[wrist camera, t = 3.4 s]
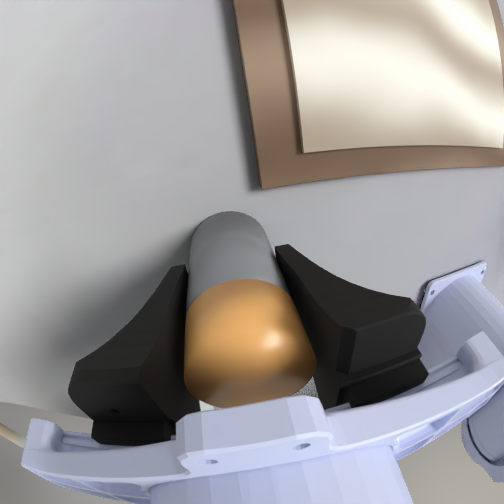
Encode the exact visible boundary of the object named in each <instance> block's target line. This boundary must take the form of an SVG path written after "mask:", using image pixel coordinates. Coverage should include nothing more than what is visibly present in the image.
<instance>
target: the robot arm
mask: <svg viewBox="0 0 504 504" xmlns="http://www.w3.org/2000/svg"><path fill="white" fill-rule="evenodd" d="M275 253H276V260H277V262H278V265H279V267H280V269H281V272H282V274H283V277H284V279H285V282H286V284H287V287H288V289H289V291H290V294H291V296H292V299H293V301H294V304H295V306H296V309H297V311H298V314H299V316H300V319H301V321H302V324H303V326H304V329H305V331H306V334H307V336H308V339H309V341H310V344H311V346H312V349H313V351H314V354H315V357H316V369H315V372H314V374H313V378H314V382H315V385H316V389H317V393H318V396H319V399H318V398H316V397H312V396H307V395H295V396H286V397H281V398H277V399H272V400H267V401H262V402H257V403H252V404H246V405H240V406H234V407H228V408H221V409H213V410H205V411H201V409H200V402H199V400H198V399H197V398H196V397H194V396H193V395H192V394H191V393H190V392H189V391H188V389H187V388H186V385H185V382H184V349H185V321H186V302H187V285H188V273H187V270H186V267H185V264H184V265H179V266H174V267H171V269H170V270H169V272H168V273H167V275H166V276H165V278H164V279H163V280H162V282H161V283H160V285H159V286H158V288H157V289H156V291H155V292H154V294H153V295H152V296H151V297H150V299H149V300H148V301H147V303H146V304H145V305H144V307H143V308H142V309H141V310H140V311H139V312H138V314H137V315H136V316H135V317H134V318H133V319H132V320H131V321H130V322H129V323H128V324H127V325H126V326H125V327H124V328H123V329H122V330H121V331H119V332H118V333H117V334H116V335H115V336H114V337H113V338H111V339H110V340H109V341H108V342H106V343H105V344H104V345H102V346H101V347H100V348H98V349H97V350H95V351H94V352H92V353H91V354H89V355H87V356H86V357H84V358H83V359H81V360H79V361H78V362H76V364H75V367H74V371H73V374H72V377H71V381H70V384H69V388H68V394H69V396H70V398H71V399H72V401H73V402H74V403H75V404H76V405H77V406H78V407H79V408H80V409H81V410H82V411H83V412H84V413H86V414H87V415H88V416H89V417H90V418H91V419H92V420H94V422H93V428H92V434H86V433H77V432H70V431H63V430H62V429H61V428H60V427H59V426H58V425H57V424H55V423H53V422H51V421H48V420H43V419H36V418H31V422H30V425H29V429H28V433H27V438H26V442H25V447H24V451H23V457H22V462H21V465H22V466H23V467H24V468H26V469H28V470H30V471H31V472H33V473H35V474H37V475H39V476H40V477H42V478H44V479H46V480H48V481H50V482H52V483H54V484H56V485H58V486H61V487H65V488H68V489H72V490H75V491H79V492H83V493H87V494H91V495H95V496H99V497H104V498H109V499H114V500H119V501H125V502H130V503H137V504H413V501H412V499H411V496H410V493H409V491H408V488H407V486H406V483H405V481H404V478H403V476H402V473H401V471H400V469H399V466H398V464H397V460H399V459H401V458H403V457H405V456H407V455H409V454H410V453H412V452H414V451H416V450H418V449H420V448H421V447H423V446H425V445H426V444H428V443H430V442H431V441H433V440H434V439H436V438H438V437H439V436H441V435H442V434H444V433H445V432H447V431H448V430H450V429H451V428H453V427H454V426H456V425H457V424H459V423H460V422H462V425H461V436H462V441H463V444H464V447H465V449H466V451H467V453H468V454H469V456H470V457H471V459H472V460H473V461H474V462H476V463H477V464H479V465H481V466H482V467H483V468H484V469H485V471H486V472H487V473H488V474H489V476H490V477H491V478H492V480H493V481H494V482H504V306H503V305H502V304H501V303H500V302H499V301H498V300H497V299H496V298H495V297H494V296H493V295H492V294H491V293H490V292H489V291H488V290H487V289H486V288H485V287H484V286H483V285H482V284H481V281H482V279H483V276H484V273H485V270H486V267H487V263H486V262H485V261H482V262H480V263H477V264H475V265H472V266H470V267H467V268H465V269H462V270H459V271H457V272H454V273H451V274H449V275H446V276H443V277H440V278H438V279H435V280H432V281H430V282H429V284H428V285H427V288H426V292H425V295H424V298H423V302H422V305H421V308H420V309H419V308H418V306H417V305H416V304H415V303H414V302H413V301H412V300H411V298H407V297H401V296H395V295H389V294H385V293H381V292H377V291H373V290H370V289H367V288H364V287H361V286H358V285H355V284H353V283H350V282H348V281H346V280H344V279H342V278H339V277H337V276H335V275H333V274H331V273H330V272H328V271H326V270H325V269H323V268H321V267H319V266H318V265H316V264H315V263H313V262H312V261H310V260H309V259H308V258H306V257H305V256H303V255H302V254H301V253H299V252H298V251H297V250H295V249H294V248H293V247H291V246H290V245H289V244H286V245H281V246H276V247H275Z"/></svg>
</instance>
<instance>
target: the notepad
mask: <svg viewBox="0 0 504 504" xmlns="http://www.w3.org/2000/svg"><path fill="white" fill-rule="evenodd" d="M232 4H233V10H234V16H235V22H236V28H237V34H238V40H239V46H240V52H241V58H242V65H243V71H244V77H245V84H246V90H247V97H248V104H249V110H250V117H251V124H252V131H253V137H254V144H255V151H256V159H257V166H258V173H259V180H260V186H261V188H262V189H268V188H274V187H280V186H286V185H292V184H299V183H306V182H313V181H320V180H327V179H335V178H342V177H351V176H359V175H368V174H378V173H388V172H398V171H410V170H423V169H438V168H457V167H487V166H504V27H503V23H502V19H501V15H500V11H499V7H498V3H497V0H232Z"/></svg>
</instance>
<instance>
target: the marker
mask: <svg viewBox="0 0 504 504" xmlns="http://www.w3.org/2000/svg"><path fill="white" fill-rule="evenodd" d="M315 369H316V357H315V354H314V351H313V349H312V346H311V344H310V341H309V339H308V336H307V334H306V331H305V329H304V326H303V324H302V321H301V319H300V316H299V314H298V311H297V309H296V306H295V304H294V301H293V299H292V296H291V294H290V291H289V289H288V287H287V284H286V282H285V279H284V277H283V274H282V272H281V269H280V267H279V265H278V262H277V260H276V257H275V255H274V253H273V250H272V248H271V245H270V243H269V241H268V238H267V236H266V233H265V231H264V229H263V228H262V226H261V225H260V224H259V223H258V222H257V221H256V220H255V219H254V218H252V217H250V216H249V215H246V214H244V213H240V212H233V211H230V212H221V213H217V214H215V215H212V216H210V217H208V218H207V219H205V220H204V221H203V222H202V223H201V224H200V225H199V226H198V227H197V228H196V230H195V232H194V234H193V236H192V239H191V247H190V258H189V271H188V285H187V302H186V321H185V349H184V382H185V385H186V388H187V389H188V391H189V392H190V393H191V394H192V395H193V396H194V397H196V398H197V399H198V400H200V401H202V402H204V403H206V404H209V405H212V406H216V407H220V408H228V407H234V406H240V405H246V404H252V403H257V402H262V401H267V400H272V399H277V398H281V397H286V396H292V395H293V394H295V393H296V392H298V391H299V390H300V389H302V388H303V387H304V386H305V385H306V384H307V383H308V382H309V381H310V379H311V378H312V376H313V374H314V372H315Z"/></svg>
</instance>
